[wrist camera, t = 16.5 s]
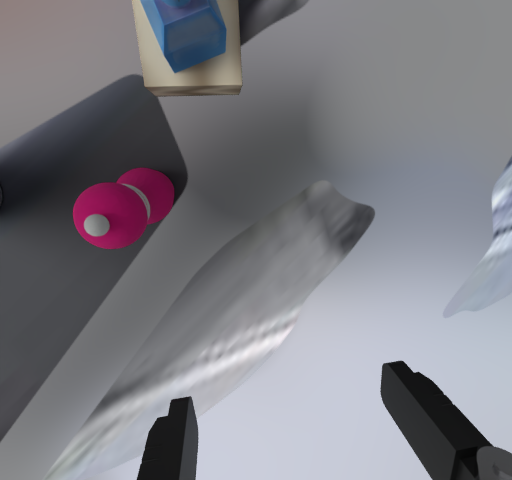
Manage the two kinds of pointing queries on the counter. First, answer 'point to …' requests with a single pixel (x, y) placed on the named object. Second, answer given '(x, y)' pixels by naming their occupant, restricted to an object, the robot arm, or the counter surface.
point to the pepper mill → (123, 207)
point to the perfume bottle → (187, 30)
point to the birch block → (200, 75)
